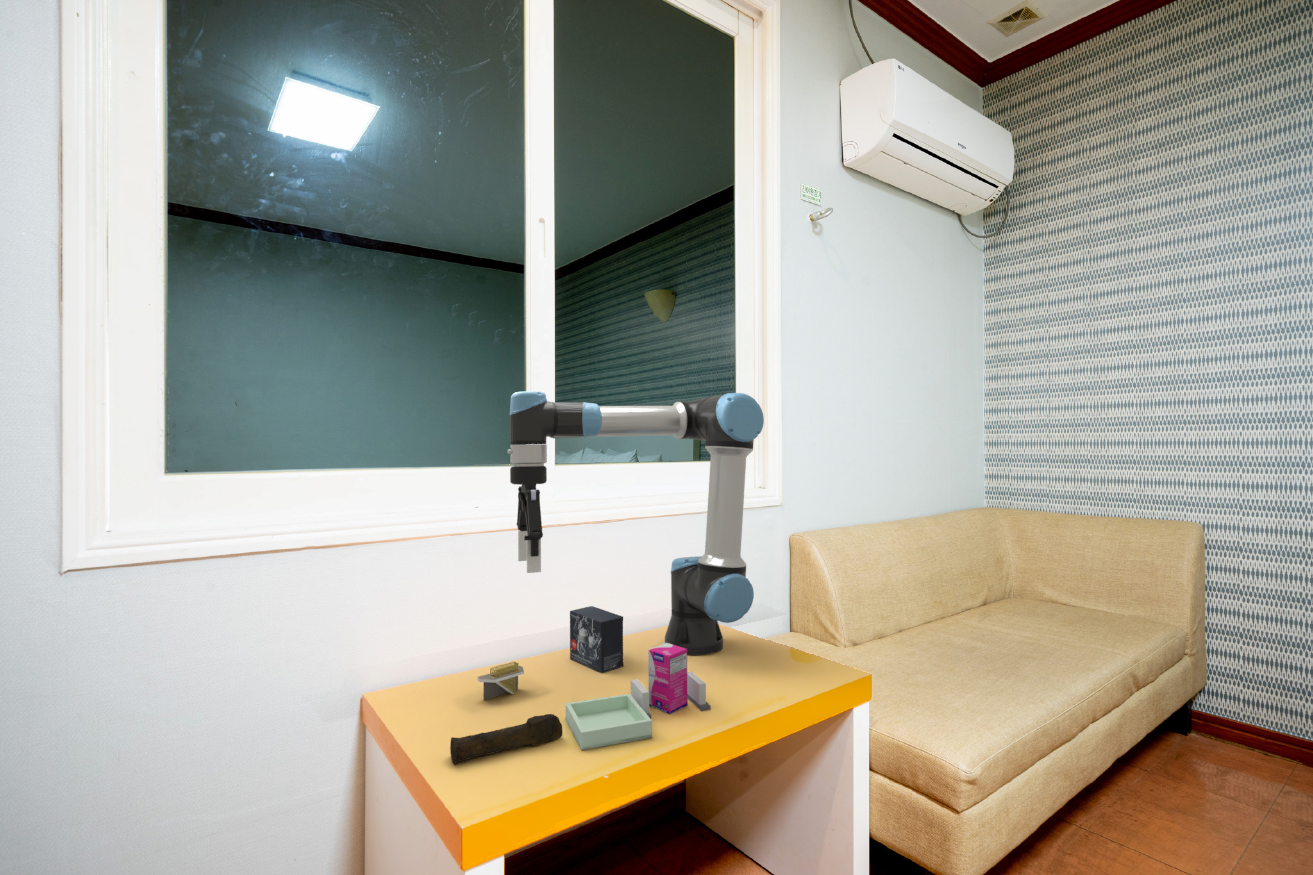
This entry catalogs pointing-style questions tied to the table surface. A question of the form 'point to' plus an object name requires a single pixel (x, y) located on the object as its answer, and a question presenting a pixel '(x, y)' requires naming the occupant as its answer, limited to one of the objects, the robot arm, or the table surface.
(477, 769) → the table surface
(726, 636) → the table surface
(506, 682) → the platform
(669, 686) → the supplement box
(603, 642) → the small box
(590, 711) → the parts tray
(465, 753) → the hand tool
